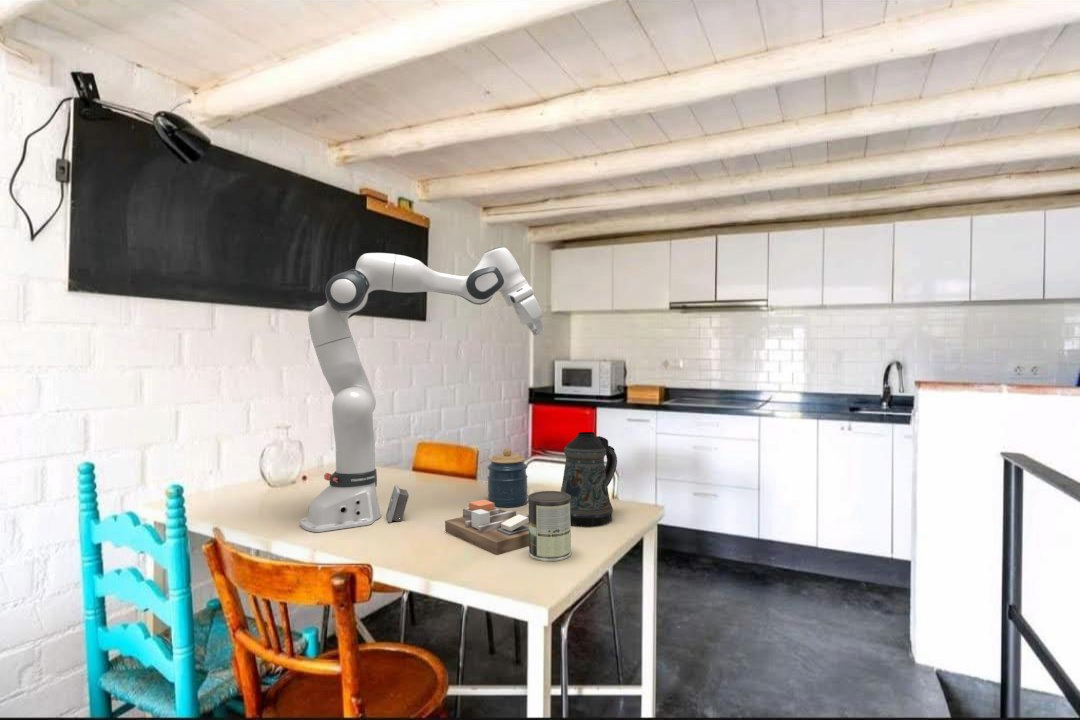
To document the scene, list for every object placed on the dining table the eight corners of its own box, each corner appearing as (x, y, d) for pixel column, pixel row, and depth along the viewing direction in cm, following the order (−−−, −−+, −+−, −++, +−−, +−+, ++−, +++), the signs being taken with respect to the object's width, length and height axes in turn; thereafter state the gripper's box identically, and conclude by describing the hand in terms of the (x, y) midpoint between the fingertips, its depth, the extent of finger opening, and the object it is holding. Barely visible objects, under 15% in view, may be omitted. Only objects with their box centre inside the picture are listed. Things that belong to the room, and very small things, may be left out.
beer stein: (546, 523, 165) (545, 435, 165) (573, 506, 183) (572, 427, 182) (601, 530, 158) (600, 438, 158) (623, 512, 176) (623, 429, 175)
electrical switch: (386, 515, 175) (388, 484, 175) (403, 515, 177) (406, 484, 177) (388, 524, 166) (390, 491, 166) (406, 523, 168) (409, 491, 168)
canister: (502, 495, 197) (502, 444, 197) (535, 500, 190) (534, 446, 190) (479, 504, 186) (478, 449, 186) (513, 510, 179) (512, 453, 179)
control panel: (496, 554, 140) (496, 532, 140) (445, 531, 158) (445, 511, 158) (553, 538, 151) (552, 517, 151) (498, 518, 170) (498, 500, 170)
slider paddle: (480, 529, 149) (480, 514, 149) (471, 526, 152) (471, 511, 152) (489, 527, 151) (489, 512, 151) (481, 524, 154) (480, 509, 154)
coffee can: (519, 555, 139) (519, 496, 139) (546, 544, 147) (546, 488, 147) (553, 565, 133) (553, 503, 133) (579, 552, 141) (579, 494, 141)
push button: (479, 515, 157) (479, 506, 157) (469, 511, 161) (469, 502, 161) (494, 511, 160) (494, 502, 160) (484, 508, 164) (484, 499, 164)
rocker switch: (510, 531, 146) (510, 526, 146) (501, 527, 149) (500, 523, 149) (529, 521, 149) (528, 517, 149) (519, 518, 153) (518, 514, 152)
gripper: (505, 302, 190) (525, 339, 192) (514, 297, 170) (537, 338, 172) (521, 293, 192) (541, 330, 193) (533, 286, 171) (555, 328, 173)
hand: (539, 334), depth 182 cm, fingers open, 8 cm apart
